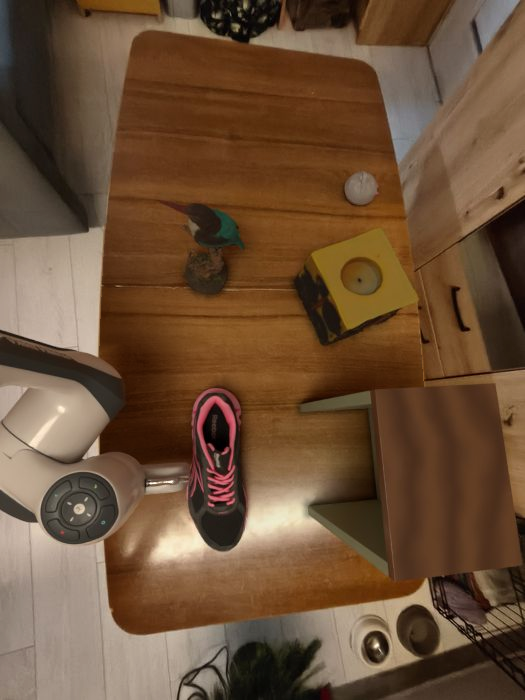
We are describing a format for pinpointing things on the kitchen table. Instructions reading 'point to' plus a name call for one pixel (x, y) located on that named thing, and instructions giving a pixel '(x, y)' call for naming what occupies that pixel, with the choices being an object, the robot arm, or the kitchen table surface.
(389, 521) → the board
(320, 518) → the dark grey angular piece
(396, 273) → the candle
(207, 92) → the kitchen table surface
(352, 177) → the garlic bulb
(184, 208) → the sculpture
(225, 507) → the running shoe
